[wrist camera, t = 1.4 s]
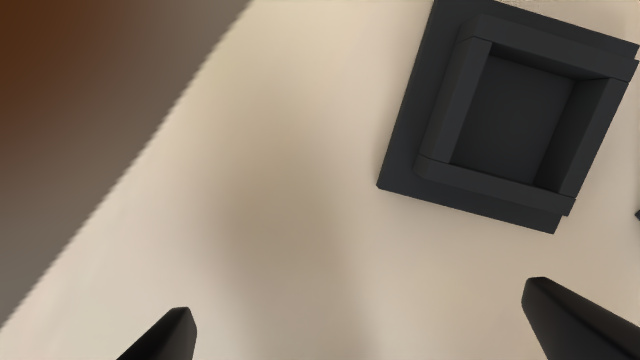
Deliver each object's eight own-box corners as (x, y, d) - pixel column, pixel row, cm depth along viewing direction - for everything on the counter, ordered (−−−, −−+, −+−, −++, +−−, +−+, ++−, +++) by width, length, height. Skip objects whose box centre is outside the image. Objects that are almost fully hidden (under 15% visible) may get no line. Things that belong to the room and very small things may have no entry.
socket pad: (544, 229, 24) (582, 250, 20) (375, 185, 23) (385, 198, 19) (625, 47, 21) (686, 35, 17) (437, -10, 20) (461, -35, 17)
